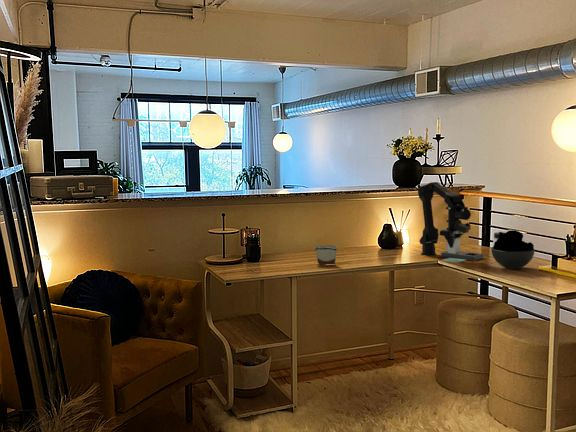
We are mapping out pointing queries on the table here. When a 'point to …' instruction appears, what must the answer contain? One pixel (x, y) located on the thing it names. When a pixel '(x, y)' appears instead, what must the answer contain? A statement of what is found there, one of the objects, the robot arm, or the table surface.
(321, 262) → the food container
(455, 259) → the mat
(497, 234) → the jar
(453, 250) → the block
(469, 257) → the rail
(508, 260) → the bowl of black rocks
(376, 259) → the table surface
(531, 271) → the table surface
